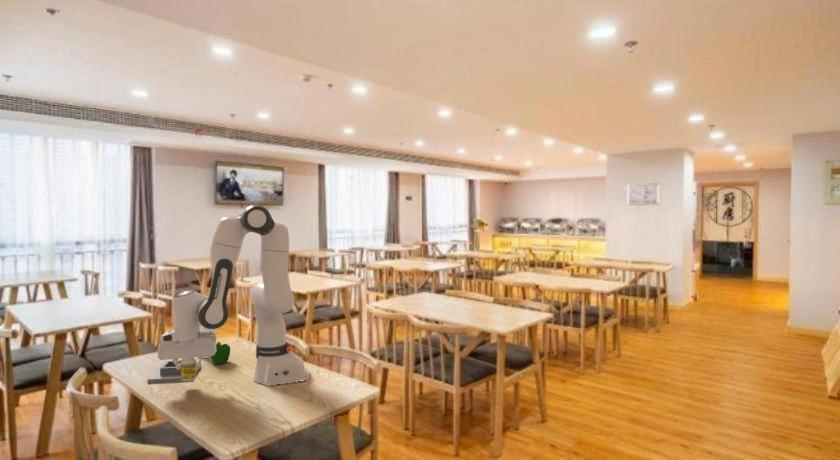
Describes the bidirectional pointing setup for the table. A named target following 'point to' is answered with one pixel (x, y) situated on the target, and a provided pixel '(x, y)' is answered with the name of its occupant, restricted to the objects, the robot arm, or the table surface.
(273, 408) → the table surface
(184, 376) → the supplement bottle
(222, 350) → the bell pepper
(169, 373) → the bottle stand
